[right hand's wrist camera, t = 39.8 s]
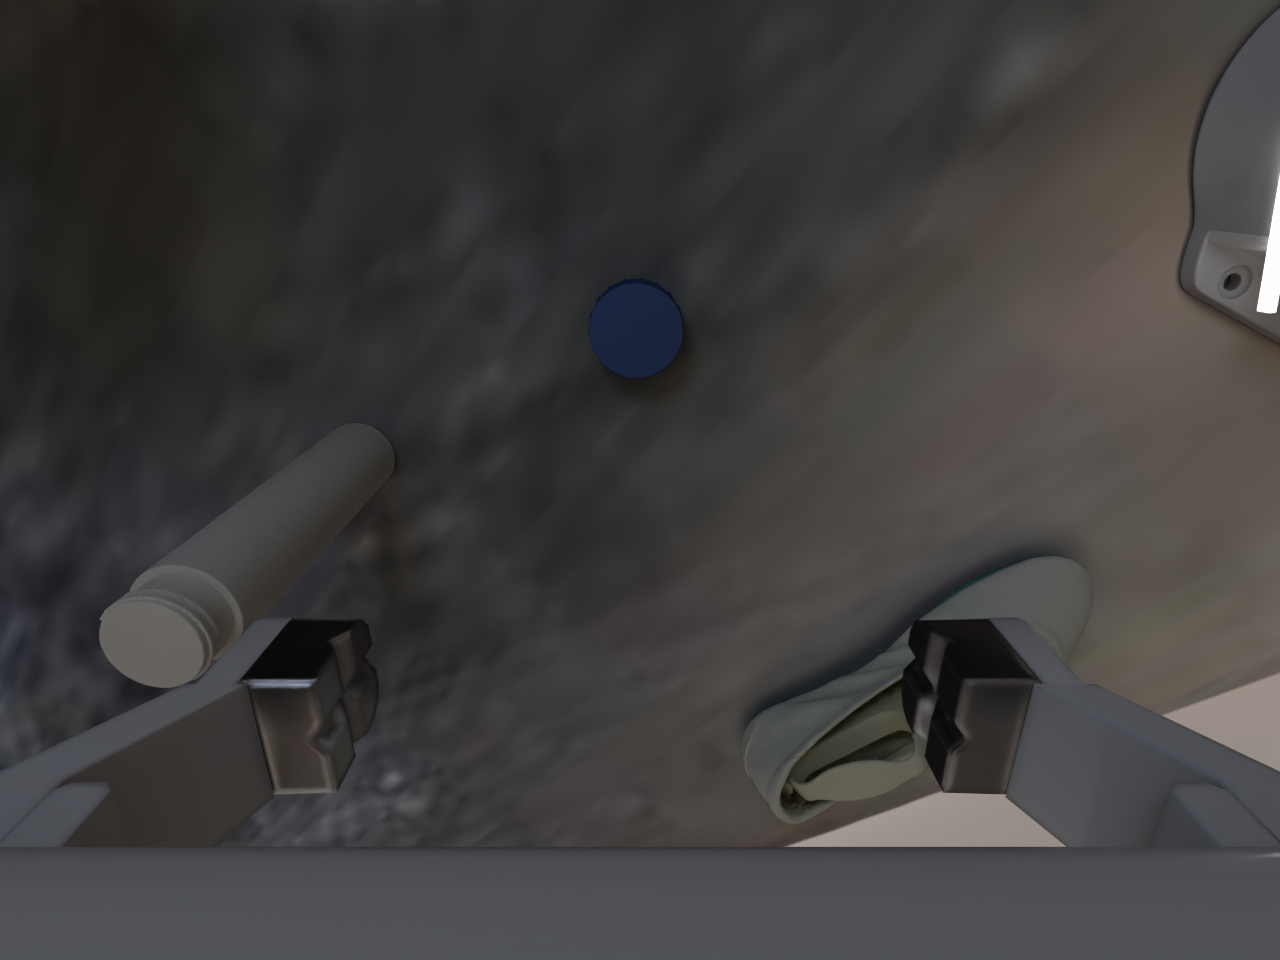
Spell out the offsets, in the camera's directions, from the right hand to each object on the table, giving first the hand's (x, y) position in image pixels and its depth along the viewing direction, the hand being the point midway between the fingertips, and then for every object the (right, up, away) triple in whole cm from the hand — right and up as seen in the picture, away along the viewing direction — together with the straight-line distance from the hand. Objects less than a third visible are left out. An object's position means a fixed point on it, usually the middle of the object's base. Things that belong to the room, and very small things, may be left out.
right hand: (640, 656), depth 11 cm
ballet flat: (+17, -10, +36) cm, 41 cm away
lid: (0, +10, +26) cm, 28 cm away
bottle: (-16, +4, +30) cm, 35 cm away
